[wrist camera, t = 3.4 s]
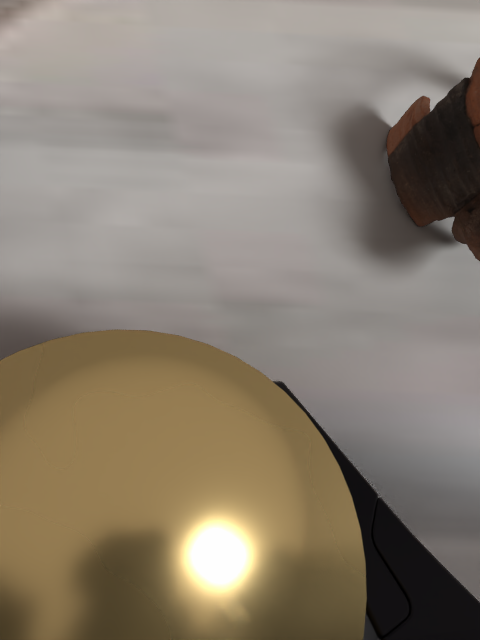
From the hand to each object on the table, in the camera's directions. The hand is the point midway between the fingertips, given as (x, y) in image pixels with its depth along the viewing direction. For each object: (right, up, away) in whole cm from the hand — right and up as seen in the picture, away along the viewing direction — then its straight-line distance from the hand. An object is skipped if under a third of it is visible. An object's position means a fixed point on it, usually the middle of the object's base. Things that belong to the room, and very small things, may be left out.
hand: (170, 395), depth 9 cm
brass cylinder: (-1, -2, +6) cm, 7 cm away
